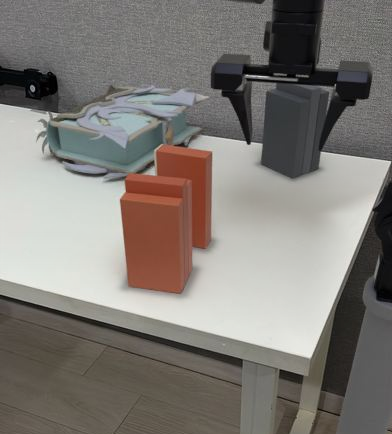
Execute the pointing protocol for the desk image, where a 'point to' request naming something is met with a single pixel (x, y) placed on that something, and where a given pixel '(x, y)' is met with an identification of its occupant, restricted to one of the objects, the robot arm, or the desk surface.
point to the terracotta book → (201, 184)
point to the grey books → (293, 128)
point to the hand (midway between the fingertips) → (284, 146)
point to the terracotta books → (157, 231)
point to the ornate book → (120, 129)
